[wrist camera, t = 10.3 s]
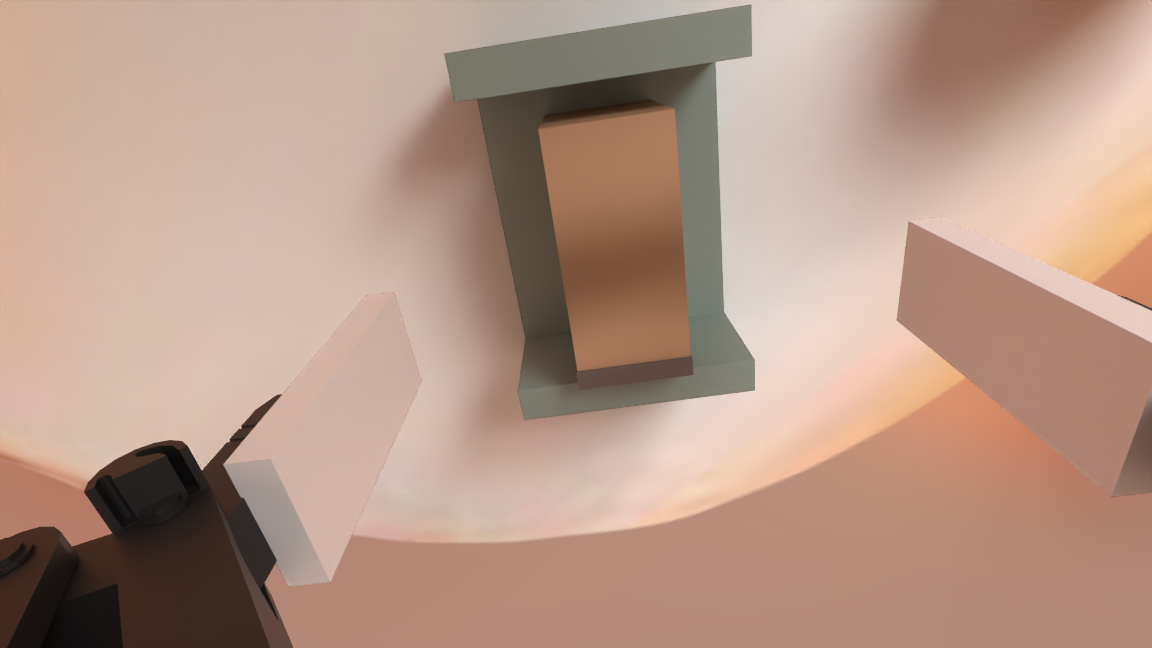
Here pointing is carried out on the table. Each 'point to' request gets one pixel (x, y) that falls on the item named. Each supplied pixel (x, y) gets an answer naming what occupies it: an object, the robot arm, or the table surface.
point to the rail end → (620, 240)
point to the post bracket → (510, 122)
